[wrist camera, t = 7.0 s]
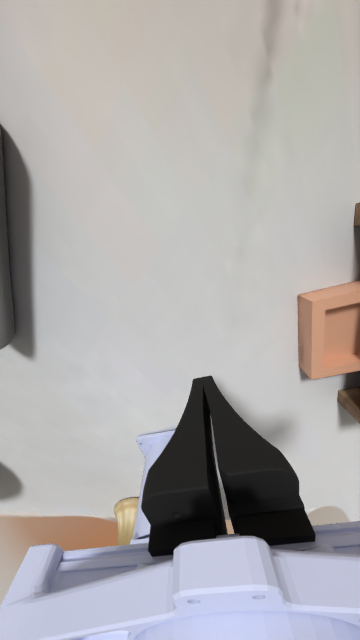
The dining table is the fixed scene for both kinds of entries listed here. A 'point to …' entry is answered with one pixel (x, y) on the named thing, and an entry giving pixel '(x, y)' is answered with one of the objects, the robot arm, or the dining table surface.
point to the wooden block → (356, 399)
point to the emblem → (4, 268)
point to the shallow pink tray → (329, 330)
